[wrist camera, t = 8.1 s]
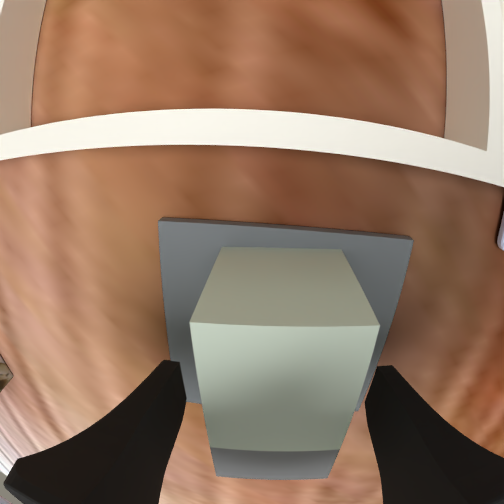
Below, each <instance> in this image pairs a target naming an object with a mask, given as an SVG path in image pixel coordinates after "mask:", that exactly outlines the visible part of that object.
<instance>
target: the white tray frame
mask: <svg viewBox="0 0 504 504" xmlns="http://www.w3.org/2000/svg"><path fill="white" fill-rule="evenodd" d="M45 4H46V0H0V160H5V159H10V158H17V157H23V156H30V155H37V154H44V153H52V152H60V151H70V150H80V149H91V148H104V147H119V146H140V145H234V146H256V147H272V148H285V149H297V150H308V151H318V152H327V153H335V154H343V155H351V156H358V157H365V158H372V159H379V160H385V161H391V162H397V163H402V164H408V165H413V166H418V167H423V168H428V169H433V170H438V171H442V172H447V173H451V174H456V175H460V176H464V177H468V178H472V179H476V180H480V181H484V182H487V183H491V184H495V185H498V186H502V187H504V0H442V7H443V16H444V26H445V40H446V62H447V98H446V120H445V134H444V138H440V137H436V136H432V135H428V134H424V133H420V132H416V131H411V130H407V129H402V128H397V127H392V126H387V125H382V124H377V123H371V122H365V121H359V120H353V119H346V118H339V117H331V116H323V115H315V114H305V113H295V112H283V111H268V110H248V109H175V110H155V111H140V112H129V113H118V114H109V115H101V116H93V117H86V118H79V119H73V120H66V121H61V122H55V123H50V124H45V125H40V126H35V127H31V103H32V87H33V76H34V66H35V58H36V51H37V44H38V38H39V32H40V27H41V22H42V17H43V12H44V8H45Z"/></svg>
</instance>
